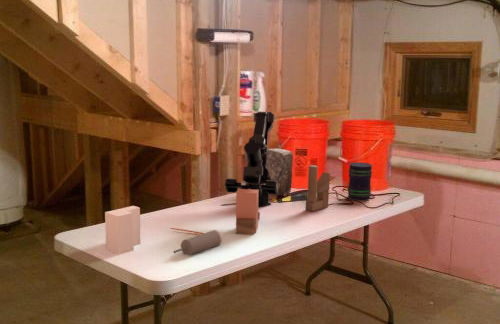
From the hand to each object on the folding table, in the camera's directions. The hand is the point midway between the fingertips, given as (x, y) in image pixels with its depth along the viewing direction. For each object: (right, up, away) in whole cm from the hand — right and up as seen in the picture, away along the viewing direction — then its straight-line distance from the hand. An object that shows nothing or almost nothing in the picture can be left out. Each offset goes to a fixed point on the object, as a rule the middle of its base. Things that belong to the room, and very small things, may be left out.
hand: (248, 206), depth 191 cm
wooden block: (+28, -3, +28) cm, 40 cm away
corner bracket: (-40, -11, -20) cm, 46 cm away
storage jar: (+48, 0, +47) cm, 67 cm away
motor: (-22, -11, -16) cm, 29 cm away
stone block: (+13, +1, +52) cm, 54 cm away
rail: (0, -7, +3) cm, 8 cm away
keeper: (-1, -8, -1) cm, 8 cm away
